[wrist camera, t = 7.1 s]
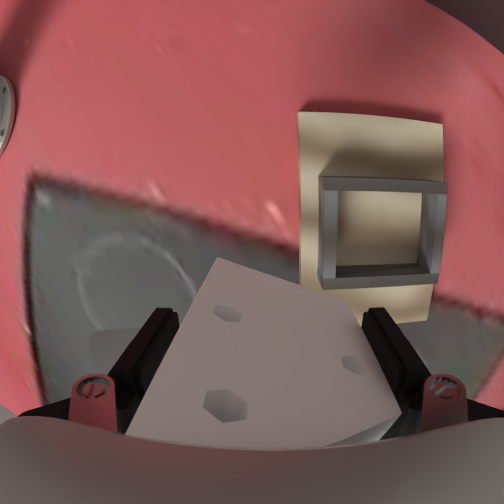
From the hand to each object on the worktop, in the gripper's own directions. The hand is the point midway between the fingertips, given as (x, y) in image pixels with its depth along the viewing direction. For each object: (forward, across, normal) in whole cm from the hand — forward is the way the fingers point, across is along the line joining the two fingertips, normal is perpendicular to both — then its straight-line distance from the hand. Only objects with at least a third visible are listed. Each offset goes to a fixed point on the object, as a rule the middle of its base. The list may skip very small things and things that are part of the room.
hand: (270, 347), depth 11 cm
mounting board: (+18, -10, -1) cm, 21 cm away
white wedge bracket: (+2, 0, 0) cm, 2 cm away
